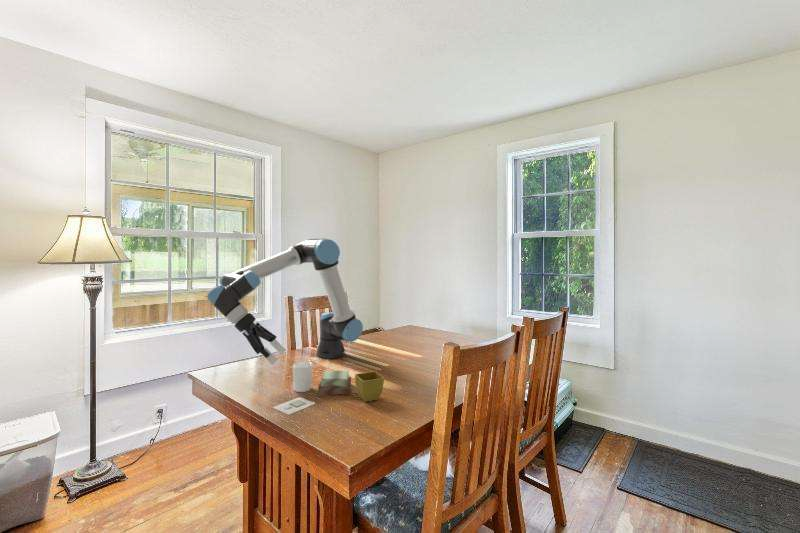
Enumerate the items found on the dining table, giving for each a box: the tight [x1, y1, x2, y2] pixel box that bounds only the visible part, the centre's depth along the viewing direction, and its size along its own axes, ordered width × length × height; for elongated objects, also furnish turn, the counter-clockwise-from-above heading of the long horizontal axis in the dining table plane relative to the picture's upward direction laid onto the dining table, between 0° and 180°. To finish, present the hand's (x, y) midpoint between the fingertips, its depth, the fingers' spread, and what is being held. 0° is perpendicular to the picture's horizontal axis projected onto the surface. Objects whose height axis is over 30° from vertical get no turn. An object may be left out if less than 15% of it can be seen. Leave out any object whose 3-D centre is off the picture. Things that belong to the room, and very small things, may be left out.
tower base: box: [317, 369, 352, 396], centre depth 148 cm, size 12×12×6 cm
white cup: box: [292, 361, 314, 393], centre depth 147 cm, size 8×8×10 cm
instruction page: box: [271, 396, 316, 416], centre depth 131 cm, size 12×9×1 cm
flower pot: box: [354, 370, 385, 403], centre depth 139 cm, size 9×9×9 cm
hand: (279, 357), depth 145 cm, fingers open, 13 cm apart
